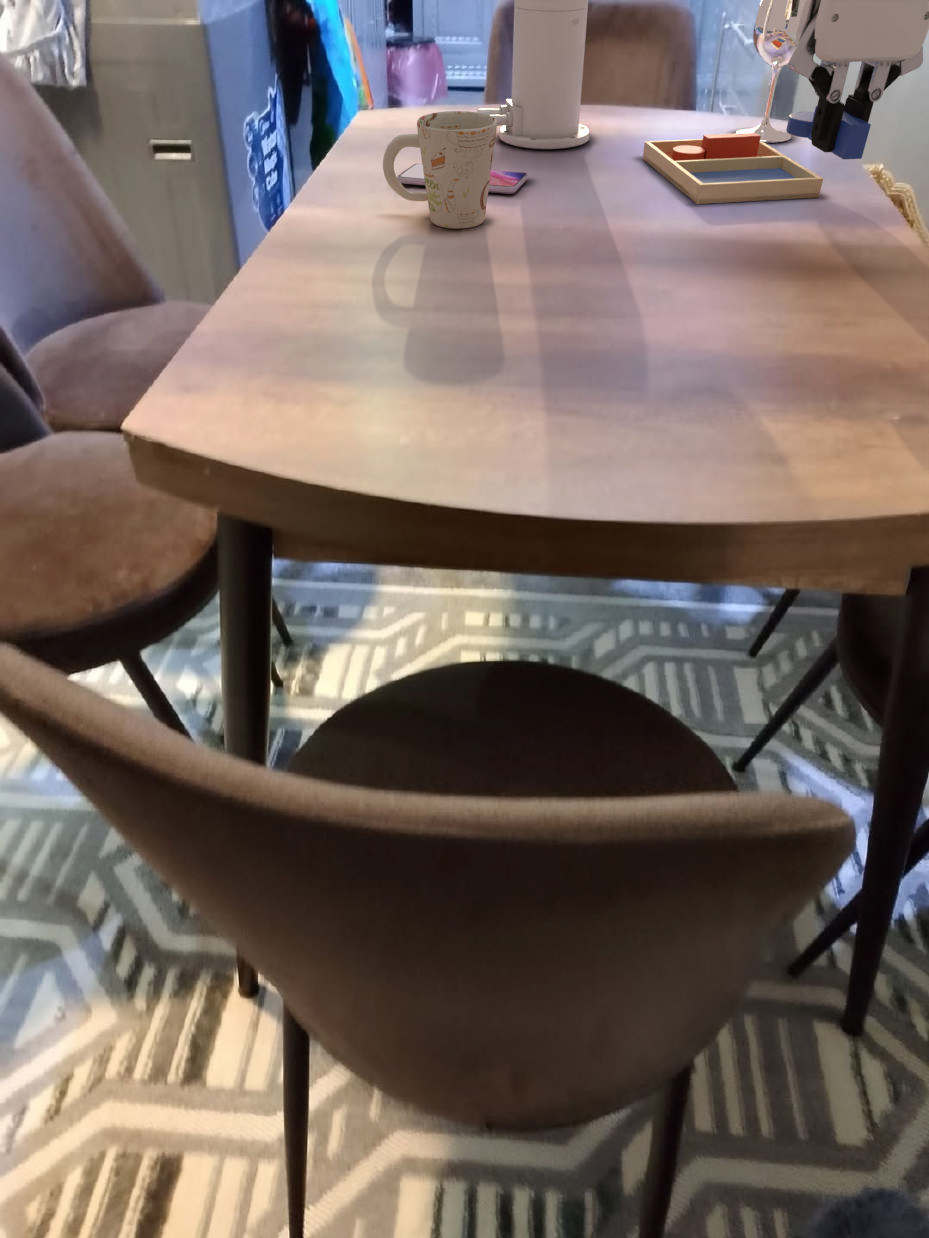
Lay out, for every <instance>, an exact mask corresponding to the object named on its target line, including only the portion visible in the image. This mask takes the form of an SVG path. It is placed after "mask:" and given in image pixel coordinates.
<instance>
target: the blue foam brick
mask: <svg viewBox="0 0 929 1238" xmlns="http://www.w3.org/2000/svg"><path fill="white" fill-rule="evenodd" d="M816 109H817V105H815V107H814V111H795V112H792V113H790V114H789V116H788V120H787V125H786V128H785V129H786V130H785V132H787V133H789V134H790V135H791V136H795V137H799V138H805V139H808V140H810V141H811V142H812V137H811V130H812V126H813V122H814V117H815V113H816ZM871 127H872V124H871V123H869V122H868V123H867V122H865V121H863V120H861V119H859V118H857V117H855V116H853V115H851V114H849V113H847V112H846V111H844V112H843V116H842V119H841V122H840V126H839V130H838V134H837V138H836V142H835V146H834V149H833V150H832V152H831V154H833V155H835V156H837V157H838V158H840V159H842V160H861V159H863V154H864V151H865V149H866V143H867V142H868V141H867V140H868V136H869V133H870V129H871Z"/></svg>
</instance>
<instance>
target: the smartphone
mask: <svg viewBox="0 0 929 1238" xmlns="http://www.w3.org/2000/svg"><path fill="white" fill-rule="evenodd" d="M396 177H397V179H398V180H399V182H400V183H401V184H403V185H404V184H406V185H416V186H425V179H424V172H423V165H422V163H413V164H412V165H410V167H408V168H406V169H405V170H404V171H402V172H401V173H400V174H398V175H397V176H396ZM528 178H529V176H528V173H527V172H521V171H512V170H511V171H510V170H499V169H498V170H497V169H491V175H490V182H489V190H488V193H493V194H494V193H495V194H503V195H504V194H505V195H512V194H515V193H516V192H517V191H518V190H519V189H520V188H521V186H523V185H524V183H526V182H527V180H528Z"/></svg>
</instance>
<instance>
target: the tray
mask: <svg viewBox="0 0 929 1238" xmlns="http://www.w3.org/2000/svg"><path fill="white" fill-rule="evenodd" d="M702 141H703V138H689V139H666V140H646V141H645V140H644V144H643V153H642V160H643V161H645V163H647V164H648V165H650V167H652V168H653V169H654V170H656V171H657V172H658V173H659V174H660V175H662V176H663V177H664V178H665V179H666V180H667V181H669V182H670V183H671V184H672V185H674V186H675V187H676V188H677V189H678V190H679V191H681V192H682V193H683V194H684V195H686V196H687V198H689V199H691V200H692V201H693V202H694V203H695V204H696V205H705V204H721V203H722V204H724V203H738V202H739V203H740V202H743V203H744V202H756V201H757V202H758V201H759V202H760V201H775V200H794V199H795V200H796V199H811V198H812V199H813V198H820V196H821V195H820V194H821V190H822V185H823V181H824V178H823V177H822V176H820V175H818V174H817V173H815V172H814V171H812V170H811V169H809V168H807V167H805V166H803V165H802V164H800V163H798V162H797V161H796V160H794V159H792V158H790V157H789V156H787V155H785V154H784V153H782V152H780V151H779V150H778V149H775V148H774V147H772V146H771V145H769V144H768V143H764V142H762V141H761V140H760V143H759V148H758V153H757V157H742V158H722V159H702V160H682V161H674V160H672V153H673V148H674V147H677V146H683V145H690V146H697V147H701V148H702Z"/></svg>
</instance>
